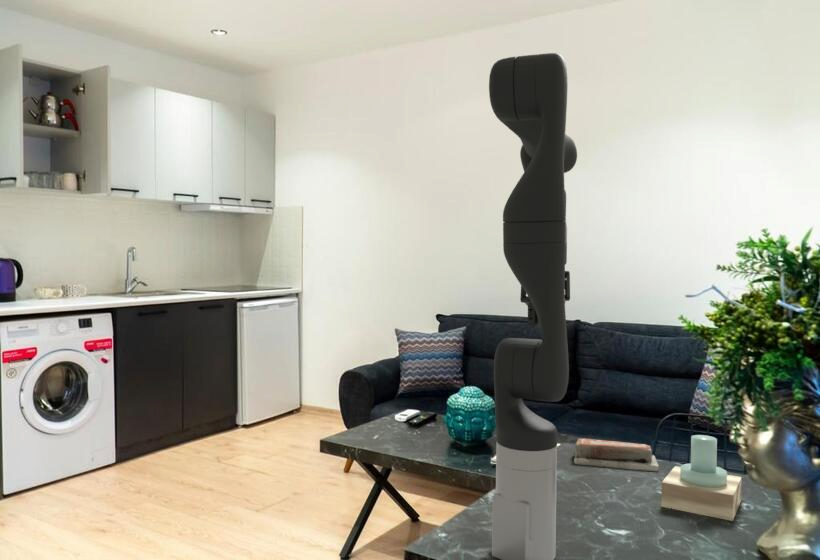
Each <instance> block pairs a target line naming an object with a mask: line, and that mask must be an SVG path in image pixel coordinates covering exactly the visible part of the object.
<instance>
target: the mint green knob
mask: <svg viewBox="0 0 820 560" xmlns="http://www.w3.org/2000/svg"><path fill="white" fill-rule="evenodd" d="M690 438H691V439H690V462H689V463H685V464H682V465H681V466H680V478H681V480H683V481H684V482H686V483H689V484H692V485H696V486H701V487H709V488H718V487H723V486H726V485H727V475H728V472H727V470H726V469H725V468H722V467H720V466H718V465H717V461H718V460H717V459H718V458H717V454H718V453H717V451H718V446H717V445H718V438H716V437H714V436H710V435H706V434H695V435H693V434H692V435H691V437H690Z"/></svg>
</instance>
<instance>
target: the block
mask: <svg viewBox="0 0 820 560" xmlns="http://www.w3.org/2000/svg"><path fill="white" fill-rule="evenodd" d="M680 467H681V466H679V465H675V466H674V467H673V468H672V469H671V470H670V471H669V473H668V474H666V476H665V478H664V479H663V480H662V481H661V504H660V505H661V507H662V508H666V509H671V508H672V510H677V511H681V512H685V513H686V512H687V513H691V514H696V515H700V516H707V517H711V518H716V519H722V520H726V521H731V522H733V521H734V519H735V516H736V515H737V512H738V509H739V506H740V504H741V502H742V489H743V487H742V485H743V484H742V483H743V481H742V478H743V477H742V476H738V475H732V474H727V485H726V486H723V487H718V488H709V487H701V486H696V485H692V484H689V483H686V482H684V481H683V480H681V478H680Z"/></svg>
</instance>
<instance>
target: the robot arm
mask: <svg viewBox="0 0 820 560" xmlns="http://www.w3.org/2000/svg"><path fill="white" fill-rule="evenodd" d="M567 70H568V69H567V64H566V61H565V58H564V57H563V56H562V55H561V54H560V53H558V52H557V53H556V52H555V53H554V52H550V53H549V52H547V53H539V54H528V55H518V56H509V57H505V58H502V59H498V60H497V61H496V62H494V63H493V65H492V67H491V69H490V72H489V79H488V92H489V103H490V105H491V109H492V111H493V113H494V115H495V116H496V117H495V118H497V119H498V120H499V121H500V122H501V123H502V124H503V125H504V126H506V127H507V129H509V130H510V131H512V132H513V134H515V135H516V136H517V137H518V139H520V141H521V143H522V145H521V147H520V156H519V157H520V161H521V166H522V169H523V174H522V175H521V176H520V178H519V180H518V181H517V183H516V184H515V186H514V188H513V190H511V193H510V195H509V197H508V198H507V200H506V203H505V204H504V208H503V211H502V232H503V233H502V234H503V236H502V238H503V239H502V240H503V243H502V244H503V254H504V257H505V260H506V262H507V265H508V266H509V268H510V270H511V271H512V273H513V275H514V277H515V278H516V280H517V281H518V283H519V284H520V303H524V304H525V305H526V306H527V325H528V326H529V327H530V326H531V327H538V326H539V327H540V333H541V339H536V338H535V339H533V338H523V337H522V338H518V337H506V338H503V339H502V340H500V342H499V343H498V344H497V347H496V349H495V354H494V359H493V384H494V385H493V387H494V389H493V390H494V421H495V422H494V424H495V433H496V448H495V449H496V452H495V453H496V454H495V493H494V494H493V495H492V513H491V515H492V516H491V517H492V522H491V525H492V526H491V527H492V528H491V529H492V531H491V533H492V534H491V556H492V557H494V558H497V559H499V560H555V558H556V553H557V552H556V546H557V545H556V543H557V542H556V541H557V534H556V533H557V530H556V529H557V474H558V473H557V472H558V471H557V468H558V467H557V463H558V429H557V427H556V425H554V423H553V422H551V421H549V420H547V419H545V418H543V417H542V416H539V415H537V414H536V413H535V412H533V411H532V410H530V408H528V406H526V404H525V403H524V401H523V400H530V401H539V402H552V403H553V402H560V401H561V400H563V399H564V397H565V395H566V393H567V389H568V385H569V373H570V366H569V365H570V363H569V347H568V332H567V320H566V317H567V315H566V302H567V301H568V302H569V301H570V300H571V275H570V274H571V273H570V271H569V270H566V265H567V260H568V259H567V255H568V252H567V251H568V226H567V218H566V217H567V191H566V189H565V173H568V172H570V171H571V170H573V168H574V167H575V165H576V162H577V159H578V149H577V146H576V143H575V141H574V139H573V138H572V137H571V136H570V135H569V134H568V133H567V132H566V127H567V126H566V125H567V108H568V107H567V106H568V87H569V86H568V71H567Z"/></svg>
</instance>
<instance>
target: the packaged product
mask: <svg viewBox="0 0 820 560" xmlns="http://www.w3.org/2000/svg"><path fill="white" fill-rule="evenodd" d="M574 445H575V446H574V449H575V450H574V460H573V462H574V465H581V466H582V465H584V466H591V467H592V466H593V467H594V466H595V467H603V466H606V467H605V468H613V467H614V468H615V469H622V470H623V469H625V470H636V471H647V472H649V471H650V472H659V466H660V465H659V463H658V462H657V458H656V456H655V455H654V454H653V451H652V447H651V445H648V444H645V443H635V442H623V441H615V440H614V441H613V440H604V439H594V438H593V439H591V438H577V440H576V442H575V443H574Z"/></svg>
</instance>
